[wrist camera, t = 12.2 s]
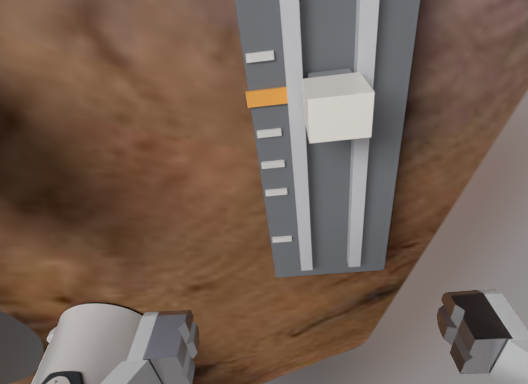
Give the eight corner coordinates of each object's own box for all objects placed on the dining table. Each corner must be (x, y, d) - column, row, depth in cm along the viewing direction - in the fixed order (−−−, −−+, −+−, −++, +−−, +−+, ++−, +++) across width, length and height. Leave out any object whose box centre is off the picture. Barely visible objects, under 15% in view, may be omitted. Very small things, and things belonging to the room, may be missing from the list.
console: (376, 250, 40) (386, 276, 36) (273, 257, 40) (274, 284, 37) (412, -71, 22) (436, -74, 19) (229, -44, 23) (223, -43, 20)
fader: (354, 107, 26) (371, 137, 22) (302, 112, 26) (309, 143, 22) (356, 67, 24) (374, 92, 20) (300, 73, 24) (307, 99, 20)
